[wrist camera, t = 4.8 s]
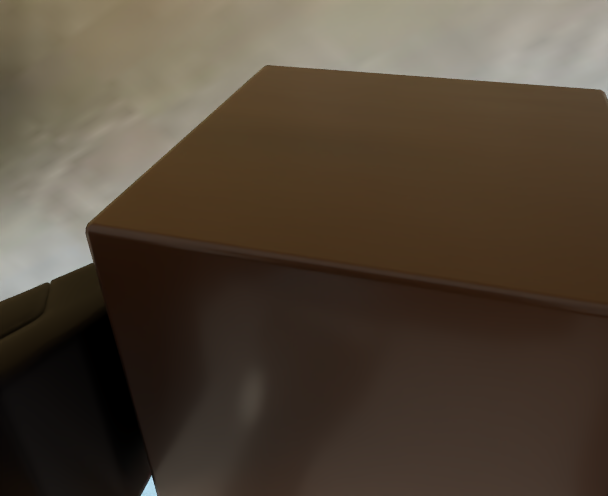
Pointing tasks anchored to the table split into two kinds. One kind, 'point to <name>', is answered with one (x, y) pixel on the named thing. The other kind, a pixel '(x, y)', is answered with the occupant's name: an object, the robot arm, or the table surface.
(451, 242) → the block
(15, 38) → the table surface
